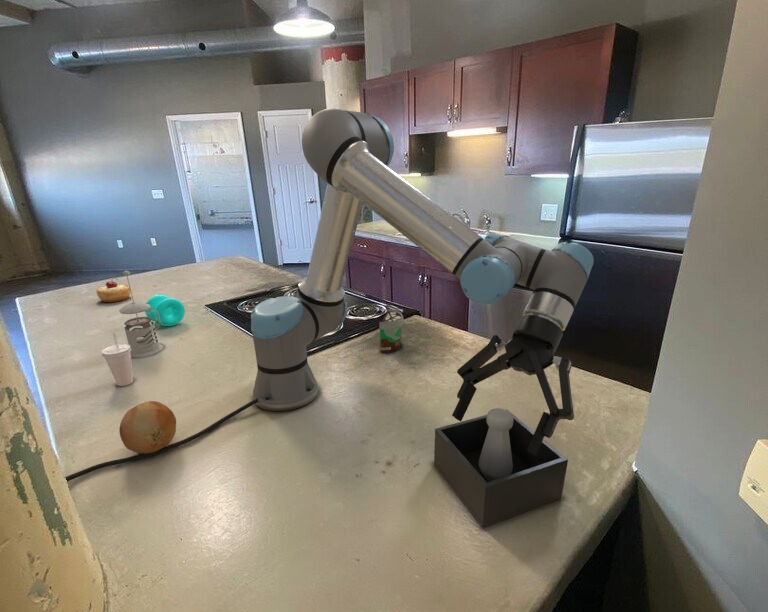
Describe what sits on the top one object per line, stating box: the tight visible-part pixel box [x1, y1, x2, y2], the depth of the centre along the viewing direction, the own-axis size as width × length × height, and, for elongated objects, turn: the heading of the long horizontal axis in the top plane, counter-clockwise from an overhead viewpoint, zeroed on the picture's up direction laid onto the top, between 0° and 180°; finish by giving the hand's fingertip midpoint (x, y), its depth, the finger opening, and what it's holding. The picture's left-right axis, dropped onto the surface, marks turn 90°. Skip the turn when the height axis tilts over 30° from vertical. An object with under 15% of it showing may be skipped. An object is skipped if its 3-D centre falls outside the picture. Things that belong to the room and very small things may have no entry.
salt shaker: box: [478, 407, 514, 482], centre depth 71 cm, size 6×6×13 cm
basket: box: [433, 409, 569, 529], centre depth 72 cm, size 16×16×8 cm
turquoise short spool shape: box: [144, 294, 186, 327], centre depth 146 cm, size 10×10×10 cm
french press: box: [118, 270, 164, 358], centre depth 123 cm, size 10×12×25 cm
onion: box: [119, 400, 177, 454], centre depth 82 cm, size 10×10×10 cm
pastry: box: [95, 277, 131, 303], centre depth 174 cm, size 12×12×9 cm
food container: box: [378, 308, 405, 353], centre depth 125 cm, size 12×6×10 cm, turn 168°
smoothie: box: [101, 331, 134, 387], centre depth 106 cm, size 6×6×14 cm
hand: (491, 435), depth 68 cm, fingers open, 13 cm apart
